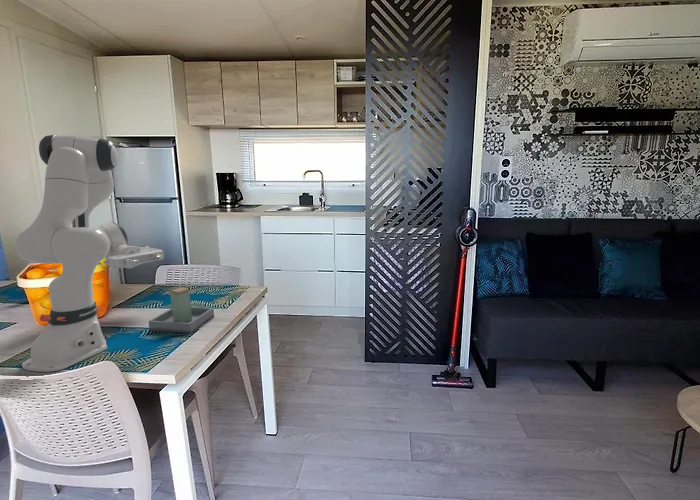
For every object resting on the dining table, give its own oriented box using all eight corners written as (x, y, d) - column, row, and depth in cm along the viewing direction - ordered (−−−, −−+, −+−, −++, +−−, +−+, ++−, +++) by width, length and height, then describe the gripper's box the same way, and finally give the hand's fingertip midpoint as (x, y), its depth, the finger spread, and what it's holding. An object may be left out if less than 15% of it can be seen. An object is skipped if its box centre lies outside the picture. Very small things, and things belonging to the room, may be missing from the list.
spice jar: (181, 324, 144) (178, 292, 142) (173, 321, 147) (169, 290, 144) (192, 320, 148) (189, 289, 146) (184, 317, 151) (181, 287, 148)
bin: (190, 333, 139) (189, 324, 138) (149, 330, 141) (148, 321, 141) (214, 316, 154) (213, 308, 153) (176, 314, 157) (175, 305, 156)
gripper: (99, 253, 151) (120, 257, 144) (150, 245, 168) (171, 248, 161) (101, 269, 152) (122, 274, 145) (152, 259, 169) (172, 263, 162)
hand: (148, 260), depth 153 cm, fingers open, 8 cm apart
